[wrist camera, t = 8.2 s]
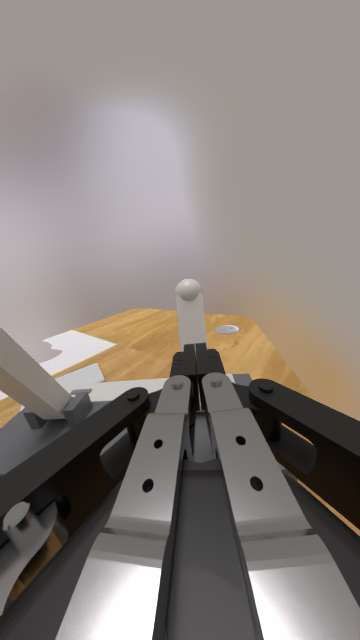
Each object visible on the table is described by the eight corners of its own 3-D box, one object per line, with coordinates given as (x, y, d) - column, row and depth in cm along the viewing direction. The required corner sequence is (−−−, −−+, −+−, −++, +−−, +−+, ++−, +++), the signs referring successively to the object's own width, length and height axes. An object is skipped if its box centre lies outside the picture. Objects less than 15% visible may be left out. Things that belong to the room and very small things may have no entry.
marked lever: (216, 417, 15) (201, 273, 15) (185, 418, 15) (172, 277, 15) (213, 403, 17) (200, 281, 18) (187, 405, 17) (175, 284, 18)
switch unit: (291, 523, 13) (301, 447, 10) (-16, 519, 15) (-67, 457, 13) (248, 412, 22) (248, 358, 20) (63, 421, 25) (42, 374, 22)
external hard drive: (106, 386, 32) (21, 424, 26) (98, 368, 39) (29, 395, 33) (104, 379, 32) (17, 416, 25) (96, 361, 38) (26, 387, 32)
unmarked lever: (69, 426, 17) (-55, 332, 9) (45, 427, 17) (-97, 337, 9) (82, 399, 19) (-12, 305, 11) (59, 401, 19) (-47, 309, 11)
